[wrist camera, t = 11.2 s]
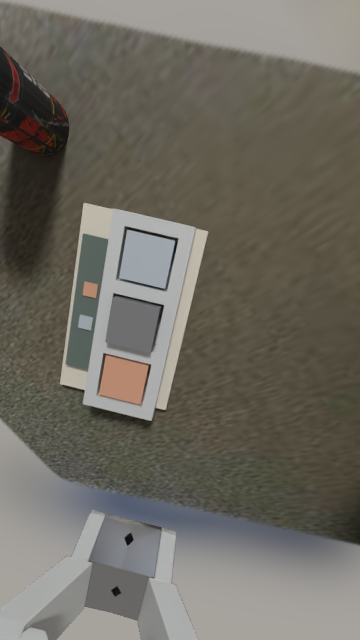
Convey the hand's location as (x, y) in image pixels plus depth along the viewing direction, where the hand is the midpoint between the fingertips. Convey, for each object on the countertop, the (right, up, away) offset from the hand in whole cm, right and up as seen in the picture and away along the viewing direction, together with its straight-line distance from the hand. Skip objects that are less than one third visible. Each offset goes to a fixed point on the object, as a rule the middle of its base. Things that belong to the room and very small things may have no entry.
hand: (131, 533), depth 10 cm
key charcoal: (-3, +7, +24) cm, 25 cm away
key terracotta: (-5, +1, +27) cm, 27 cm away
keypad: (-4, +8, +26) cm, 28 cm away
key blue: (-2, +14, +23) cm, 27 cm away
